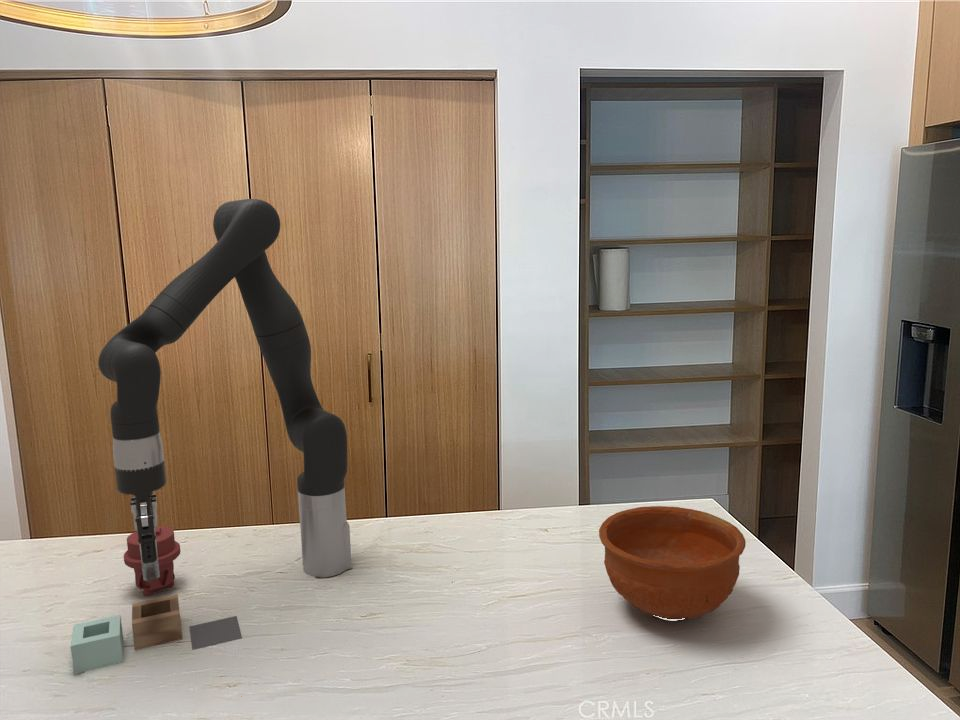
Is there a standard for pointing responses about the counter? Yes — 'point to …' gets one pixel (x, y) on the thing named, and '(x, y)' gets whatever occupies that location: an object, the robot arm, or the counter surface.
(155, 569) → the cylinder
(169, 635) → the wooden square frame
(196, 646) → the mat
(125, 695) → the counter surface
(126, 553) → the mechanical component
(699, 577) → the bowl
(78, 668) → the teal block
